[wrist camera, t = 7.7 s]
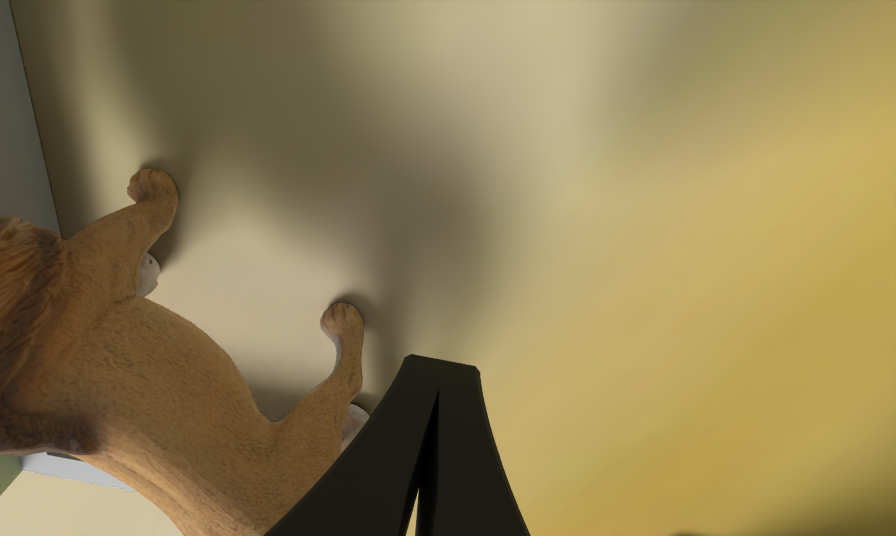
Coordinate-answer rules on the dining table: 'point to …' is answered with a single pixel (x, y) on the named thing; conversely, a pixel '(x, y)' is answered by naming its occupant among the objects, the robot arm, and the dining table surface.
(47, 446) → the lion figurine
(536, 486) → the dining table surface
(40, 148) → the l-rail base plate
